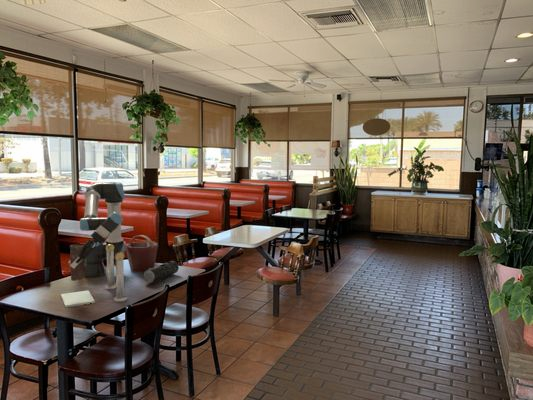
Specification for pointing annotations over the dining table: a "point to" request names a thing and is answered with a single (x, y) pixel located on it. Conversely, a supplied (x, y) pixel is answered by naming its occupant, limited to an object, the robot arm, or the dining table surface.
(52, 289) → the dining table surface
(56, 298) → the dining table surface
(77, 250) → the rusty metal cylinder
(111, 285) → the stanchion posts
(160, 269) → the muzzle brake
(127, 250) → the bucket
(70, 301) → the sage board
